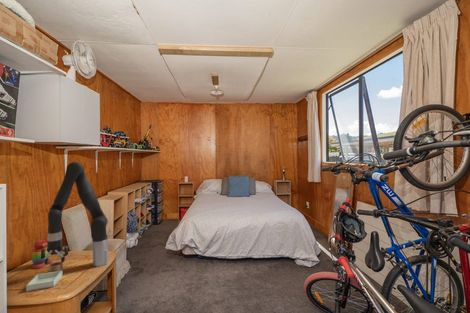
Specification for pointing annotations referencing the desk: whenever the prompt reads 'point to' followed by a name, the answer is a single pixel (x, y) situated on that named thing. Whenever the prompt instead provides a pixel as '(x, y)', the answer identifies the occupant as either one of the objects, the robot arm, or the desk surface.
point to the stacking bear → (39, 254)
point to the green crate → (44, 280)
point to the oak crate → (55, 267)
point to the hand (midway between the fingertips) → (54, 263)
